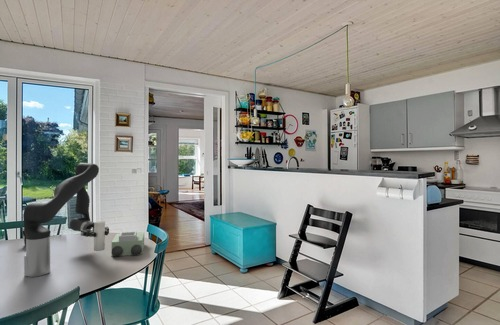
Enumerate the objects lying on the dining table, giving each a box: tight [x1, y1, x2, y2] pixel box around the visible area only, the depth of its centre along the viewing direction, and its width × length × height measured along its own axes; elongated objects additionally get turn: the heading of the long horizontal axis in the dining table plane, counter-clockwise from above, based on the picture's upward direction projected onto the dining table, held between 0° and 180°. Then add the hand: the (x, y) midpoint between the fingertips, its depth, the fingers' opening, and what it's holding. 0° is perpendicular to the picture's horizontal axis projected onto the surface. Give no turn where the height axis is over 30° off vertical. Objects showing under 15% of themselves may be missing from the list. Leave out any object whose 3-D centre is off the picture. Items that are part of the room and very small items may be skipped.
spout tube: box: [93, 221, 106, 252], centre depth 152 cm, size 5×5×14 cm
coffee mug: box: [22, 228, 26, 247], centre depth 183 cm, size 12×9×10 cm
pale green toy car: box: [111, 231, 145, 258], centre depth 174 cm, size 16×21×11 cm
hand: (101, 234), depth 151 cm, fingers closed on spout tube, 5 cm apart
